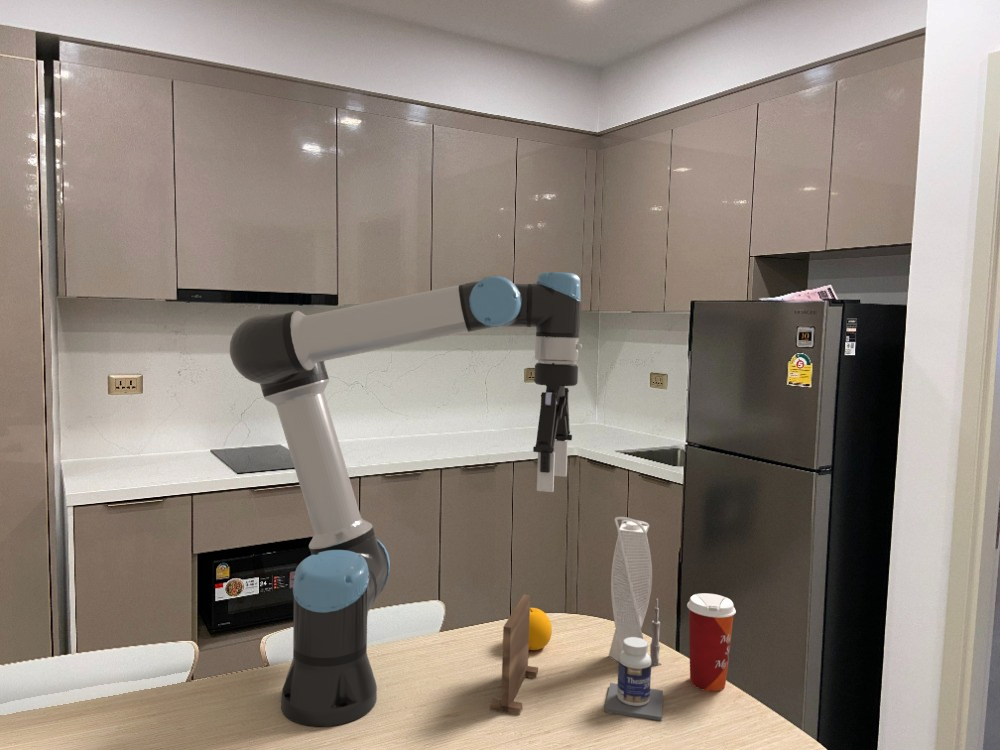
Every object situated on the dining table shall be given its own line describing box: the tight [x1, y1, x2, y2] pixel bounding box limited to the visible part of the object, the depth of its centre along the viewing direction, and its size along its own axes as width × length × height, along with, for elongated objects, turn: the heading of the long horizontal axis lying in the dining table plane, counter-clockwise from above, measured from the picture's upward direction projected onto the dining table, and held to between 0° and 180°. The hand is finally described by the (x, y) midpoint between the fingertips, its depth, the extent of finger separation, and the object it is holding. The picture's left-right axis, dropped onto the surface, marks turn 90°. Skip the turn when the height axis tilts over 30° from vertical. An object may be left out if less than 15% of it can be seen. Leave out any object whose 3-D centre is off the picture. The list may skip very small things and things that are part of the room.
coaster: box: [604, 682, 664, 722], centre depth 122 cm, size 9×9×1 cm
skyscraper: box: [608, 516, 662, 668], centre depth 137 cm, size 8×8×28 cm
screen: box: [488, 594, 539, 716], centre depth 124 cm, size 5×15×14 cm, turn 166°
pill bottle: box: [617, 637, 652, 706], centre depth 122 cm, size 5×5×10 cm
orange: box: [528, 607, 553, 651], centre depth 142 cm, size 8×8×8 cm
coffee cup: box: [686, 592, 736, 692], centre depth 129 cm, size 8×8×15 cm
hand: (552, 483), depth 128 cm, fingers open, 13 cm apart
